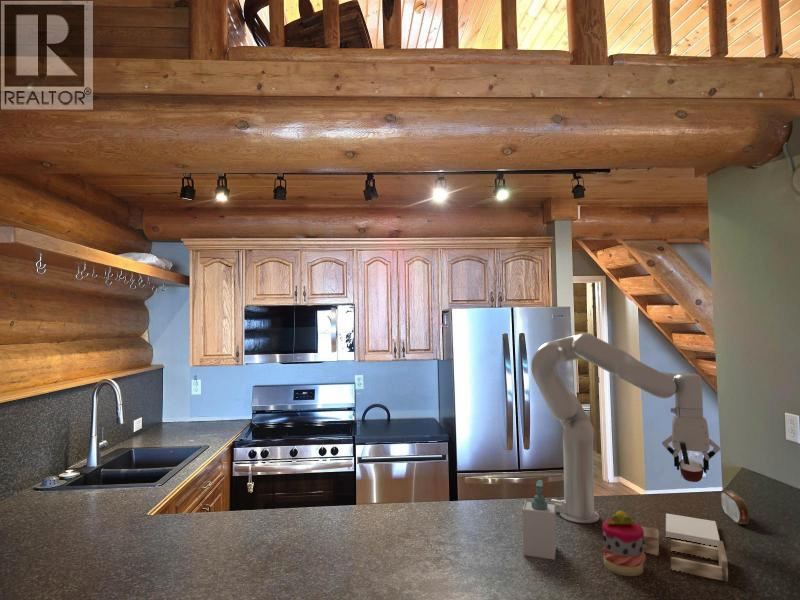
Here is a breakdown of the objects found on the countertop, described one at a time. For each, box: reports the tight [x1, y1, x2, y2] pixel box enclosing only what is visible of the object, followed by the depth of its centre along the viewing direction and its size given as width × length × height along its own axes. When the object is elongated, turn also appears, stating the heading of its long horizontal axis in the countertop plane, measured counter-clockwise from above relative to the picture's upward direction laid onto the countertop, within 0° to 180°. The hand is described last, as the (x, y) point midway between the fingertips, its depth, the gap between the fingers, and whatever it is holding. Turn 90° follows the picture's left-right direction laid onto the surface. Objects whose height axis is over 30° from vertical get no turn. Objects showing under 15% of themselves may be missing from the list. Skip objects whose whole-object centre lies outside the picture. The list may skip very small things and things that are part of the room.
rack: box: [670, 539, 729, 582], centre depth 137 cm, size 13×13×5 cm
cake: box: [601, 510, 647, 577], centre depth 136 cm, size 10×11×15 cm
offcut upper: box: [640, 525, 660, 548], centre depth 147 cm, size 5×7×2 cm, turn 154°
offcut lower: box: [643, 545, 660, 556], centre depth 147 cm, size 5×8×2 cm, turn 152°
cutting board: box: [665, 513, 721, 548], centre depth 158 cm, size 14×16×2 cm
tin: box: [720, 489, 750, 526], centre depth 169 cm, size 15×3×8 cm, turn 168°
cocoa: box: [679, 443, 704, 483], centre depth 159 cm, size 10×6×12 cm, turn 101°
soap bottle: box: [522, 479, 557, 560], centre depth 146 cm, size 9×9×19 cm
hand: (691, 469), depth 159 cm, fingers closed on cocoa, 6 cm apart
